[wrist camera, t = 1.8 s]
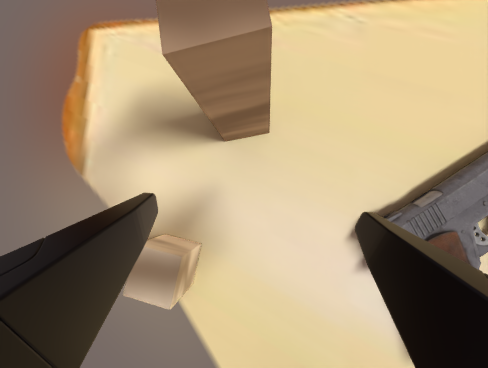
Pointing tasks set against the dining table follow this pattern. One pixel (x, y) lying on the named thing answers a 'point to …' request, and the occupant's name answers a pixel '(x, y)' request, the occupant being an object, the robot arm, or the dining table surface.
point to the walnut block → (222, 59)
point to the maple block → (163, 271)
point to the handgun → (452, 213)
